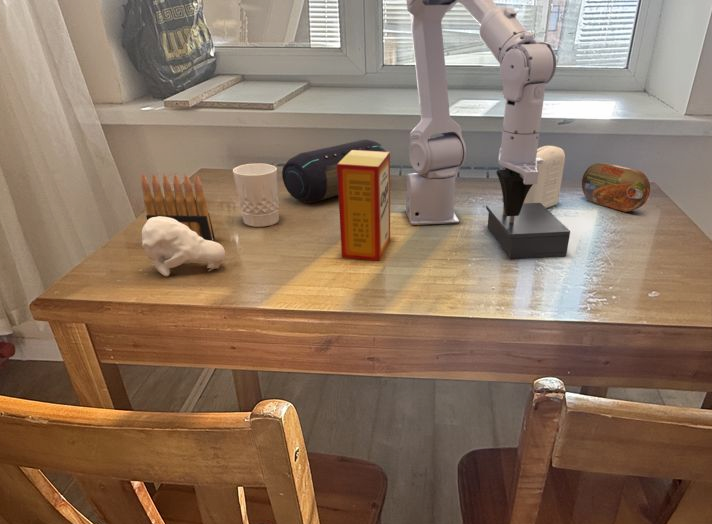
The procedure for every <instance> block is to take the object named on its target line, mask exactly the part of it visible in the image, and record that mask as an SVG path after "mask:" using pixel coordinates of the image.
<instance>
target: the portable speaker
mask: <svg viewBox="0 0 712 524" xmlns="http://www.w3.org/2000/svg"><path fill="white" fill-rule="evenodd" d="M351 150H364V151H381V152H387V151H386V150H385V148H384V147H383V146H382V144H381V143H379V142H377V141H375V140H373V139H372V140H371V139H360V140H356V141H350V142H346V143H342V144H341V143H340V144H338V145H333V146H328V147H322V148H318V149H314V150H310V151H305V152H300V153H298V154H297V155H295V156H293V157H291V158H290V159H288V160H287V161H286V162H285V164H284V165H283V167H282V170H281V178H282V181H283V185H284V187H285V188H286V190H287V192H288V193H289V195H290V196H291V197H292V198H293V199H295V200H296V201H299V202H302V203H314V202H319V201H323V200H327V199H329V198H334V197H337V196H339V195H338V177H337V164H338V163H339V162H340V161H341V160H342V159H343V158H344V157H345V156H346V155H347V154H348V153H349V152H350V151H351Z"/></svg>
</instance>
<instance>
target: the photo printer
mask: <svg viewBox="0 0 712 524" xmlns="http://www.w3.org/2000/svg"><path fill="white" fill-rule="evenodd" d="M536 157H540V158H541V159H543V164H538V165H537V170H538V171H539V175H538V183H537V184H533V185H532V187H531V188H530V190H529V192H528V193H527V195H526V198H525V200H524V203H541V204H542V205H543V206H544V207H545V208H546V209H548V208H551V207H553V206H556V205H557V204H558V203H559V199H560V193H561V188H562V187H561V186H562V180H563V174H564V168H565V162H566V154H565V151H564V149H563V148H561V147H559V146H555V145H544V146H540V147H539V148H537V156H536Z"/></svg>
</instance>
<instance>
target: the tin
mask: <svg viewBox="0 0 712 524" xmlns="http://www.w3.org/2000/svg"><path fill="white" fill-rule="evenodd" d="M581 189H582V190H581V191H582V193H583V195H584V197H585V198H586V199H587V200H588V201H589V202H591V203H593V204H596V205H600V206H603V207H607V208H610V209H614V210H617V211H620V212H625V213H627V212H632V211H634V210H637V209H639V208H641V207H643V206H644V205H645V204H646V203H647V201H648V199H649V197H650V192H651V183H650V180H649V178H648V176H647V175H646V174H645V173H644V172H642V171H641V170H639V169H635V168H634V169H633V168H631V167H625V166H621V165H617V164H613V163H609V162H597V163H594V164H592V165H591V164H590V166H589V167H588V168H587V169H586V170H585V171H584V173H583V175H582V179H581Z"/></svg>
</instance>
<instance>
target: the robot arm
mask: <svg viewBox="0 0 712 524" xmlns="http://www.w3.org/2000/svg"><path fill="white" fill-rule="evenodd" d="M458 3H459V4H460V5H461V7H463V9H464V10H465V11H466V12H467V13H468V14H469V15H470V16H471V17H472V18H473V19H474V20H475V22H476V23H477V24H478V25H479V30H478V34H479V38H480V40H481V41H482V42H483V44H484V45H485V46H486V48H487V49H488V50H489V52H490V53H491V54H492V55H493V57H494V58H495V59H496V60H497V61H498V63H499V75H500V79H501V81H502V86H503V87H502V88H503V89H502V95H503V98H504V99H505V101H504V110H503V111H504V113H503V123H502V133H501V141H500V142H501V144H500V148H499V149H498V158H497V159H498V165H499V166H502V167H503V168H504V169H497V170H496V176H497V178H498V181H499V184H500V188H501V193H502V197H503V202H502V204H504V211H505V214H506V215H507V216H519V214H520V211H521V209H522V206H523V203H524V200H525V198H526V195H527V193H528V192H529V190H530V188H531V187H532V185H533V184H537V183H538V175H539V171H538V170H537V165H538V164H543V159H541V158H540V157H536V156H537V149H538V146H539V140H540V131H541V124H542V123H541V122H542V115H543V107H544V100H545V93H546V92H545V91H546V85H547V84H549V83H550V82H551V81H552V79H553V78H554V76H555V74H556V71H557V57H556V56H557V55H556V53H555V50H554V49H553V47H552V44H551V43H549V42H547V41H538V40H537V39H535V38H534V34H533V33H532V32H531V31H528V30H527V29H526V28H525V26H524V25H523V23H522V22H521V21H520V20H519V18H518V17H517V14H518V13H517V11H516V10H515V9H514V7H508V6H497V3H496V2H495V1H494V0H406V9H407V11H408V12H409V19H410V20H409V21H410V28H411V39H412V47H413V48H412V49H413V55H414V57H413V58H414V65H415V75H416V84H417V94H418V103H419V111H420V112H419V113H420V121H419V122H418V123H417V125H415V127H414V128H413V129H412V130H411V131H410V133H409V142H410V143H409V149H408V159H409V163H410V165H411V168H412V170H414V172H413V173H407V175H406V183H405V184H406V186H405V188H406V189H405V191H406V192H405V195H406V197H405V198H406V199H405V213H406V216H407V218H408V220H409V223H410V225H412V226H421V225H423V226H424V225H443V224H445V225H447V224H459V223H460V220H459V218H458V216H457V215H456V214H455V213H456V212H455V199H456V198H455V196H456V180H457V179H456V178H457V174H458V173H460V168H461V167H462V166H463V165H464V164H465V162H466V160H467V159H466V158H467V146H466V143H465V140H464V137H463V134H462V127H461V126H460V124H459V123H458V122H456V121H455V120H454V119H453V118H452V117H451V114H450V113H451V112H450V104H449V103H450V102H449V92H448V91H449V90H448V81H447V69H446V59H445V48H444V37H443V25H442V20H443V19H444V17H445V15H446V13H448V12H450V11H451V10H452V9H453V8H454V7H455V6H456V5H457V4H458ZM434 135H440V136H435V137H434ZM432 136H433V137H432Z"/></svg>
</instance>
